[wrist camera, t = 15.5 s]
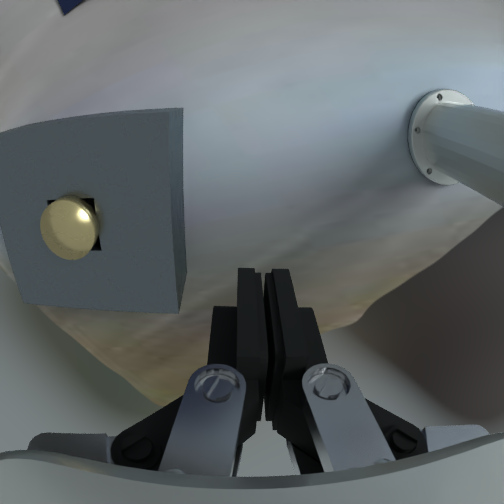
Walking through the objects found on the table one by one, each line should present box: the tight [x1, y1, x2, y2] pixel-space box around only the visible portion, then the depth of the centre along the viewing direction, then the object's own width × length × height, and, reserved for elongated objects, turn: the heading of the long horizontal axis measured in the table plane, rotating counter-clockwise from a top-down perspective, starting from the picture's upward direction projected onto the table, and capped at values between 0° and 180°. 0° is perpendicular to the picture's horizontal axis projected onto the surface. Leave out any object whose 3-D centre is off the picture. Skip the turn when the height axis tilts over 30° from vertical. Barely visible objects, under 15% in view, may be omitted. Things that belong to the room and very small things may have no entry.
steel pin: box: [40, 196, 99, 260], centre depth 30 cm, size 6×6×10 cm
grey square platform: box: [0, 108, 187, 314], centre depth 31 cm, size 20×20×8 cm
